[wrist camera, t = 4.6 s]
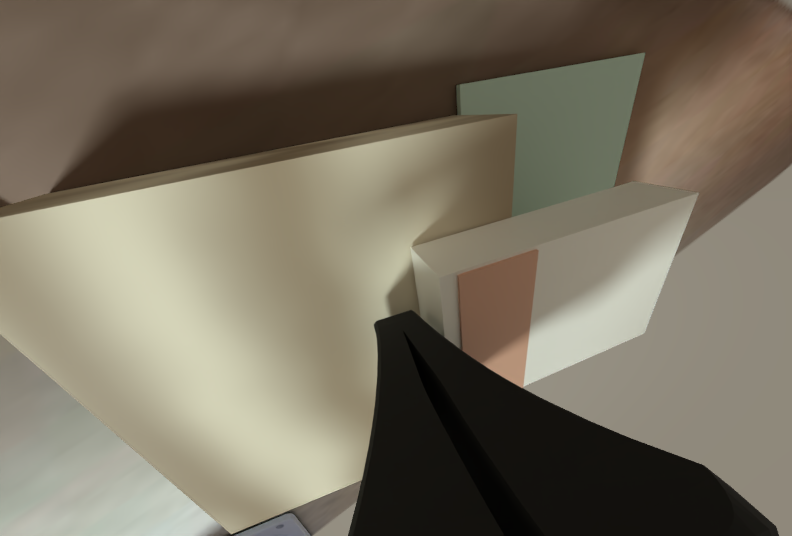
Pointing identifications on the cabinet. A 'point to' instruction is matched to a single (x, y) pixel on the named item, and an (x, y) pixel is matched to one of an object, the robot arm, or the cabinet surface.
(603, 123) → the mat
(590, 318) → the white striped box
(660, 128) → the cabinet surface
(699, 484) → the robot arm
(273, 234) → the cream piece
